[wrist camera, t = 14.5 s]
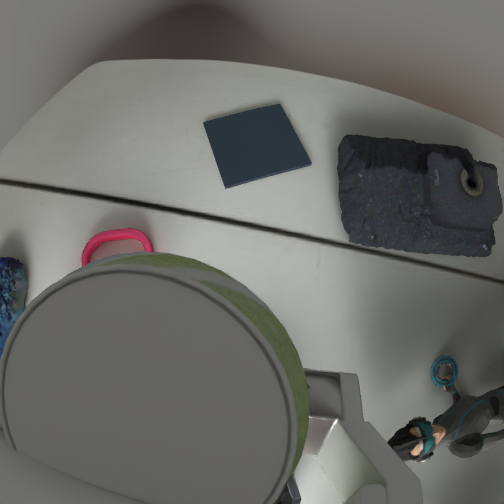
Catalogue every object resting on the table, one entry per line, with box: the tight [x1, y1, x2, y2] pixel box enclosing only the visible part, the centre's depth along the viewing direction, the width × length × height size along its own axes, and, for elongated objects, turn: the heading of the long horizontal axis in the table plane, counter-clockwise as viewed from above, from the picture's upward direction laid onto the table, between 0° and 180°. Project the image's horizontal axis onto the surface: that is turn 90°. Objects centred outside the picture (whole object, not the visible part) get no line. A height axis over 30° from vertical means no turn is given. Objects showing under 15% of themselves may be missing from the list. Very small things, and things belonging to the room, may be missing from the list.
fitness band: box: [82, 228, 153, 267], centre depth 31 cm, size 8×6×2 cm
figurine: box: [387, 356, 504, 462], centre depth 23 cm, size 11×9×30 cm
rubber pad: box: [203, 104, 311, 189], centre depth 36 cm, size 10×10×1 cm
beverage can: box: [0, 251, 310, 504], centre depth 9 cm, size 6×7×12 cm
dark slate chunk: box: [337, 135, 503, 257], centre depth 32 cm, size 15×22×5 cm
